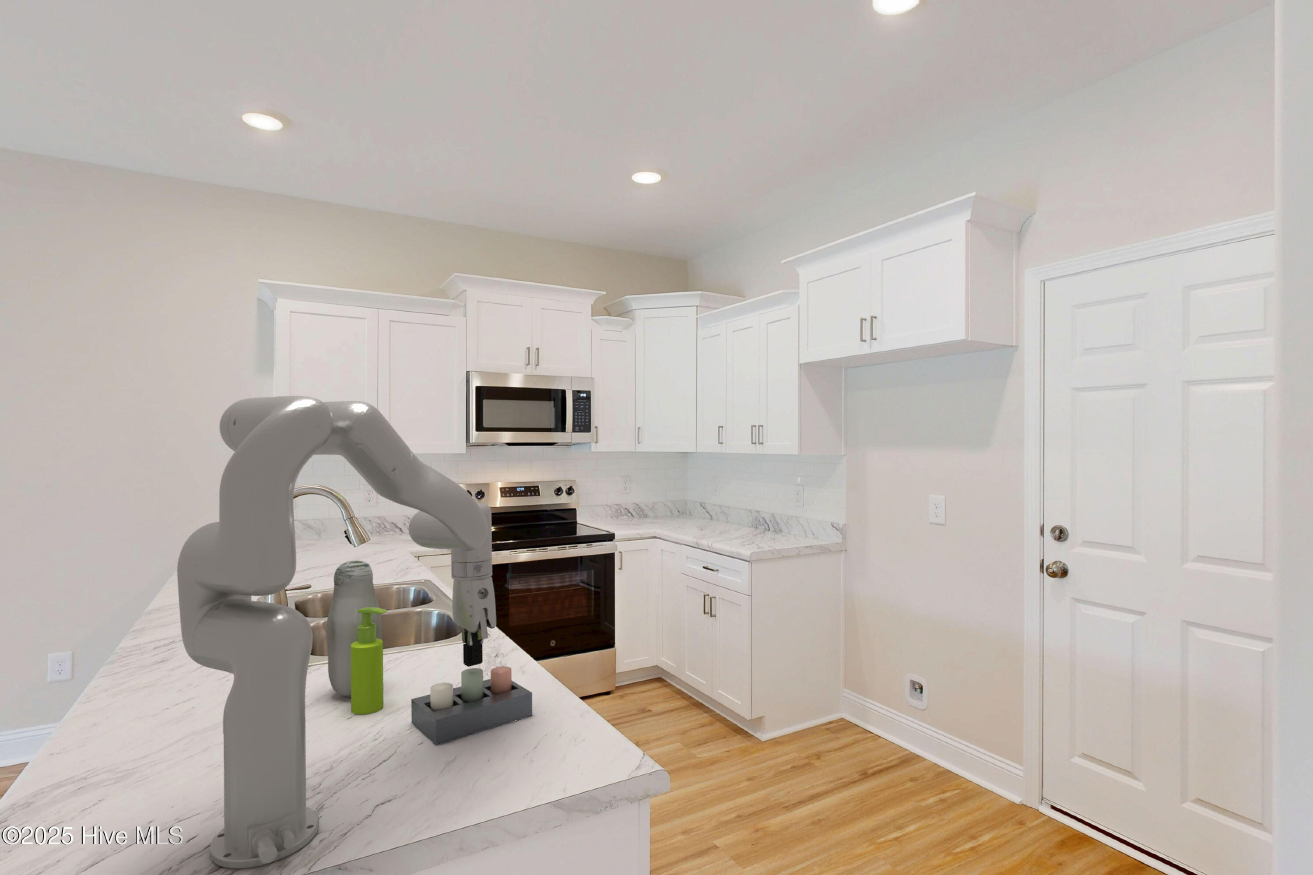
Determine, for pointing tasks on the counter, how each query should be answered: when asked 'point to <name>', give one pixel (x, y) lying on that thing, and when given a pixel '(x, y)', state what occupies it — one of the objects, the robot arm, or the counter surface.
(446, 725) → the gray socket block
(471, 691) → the green piece
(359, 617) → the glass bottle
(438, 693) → the cream rounded cylinder
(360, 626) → the soap dispenser
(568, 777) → the counter surface
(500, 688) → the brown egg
